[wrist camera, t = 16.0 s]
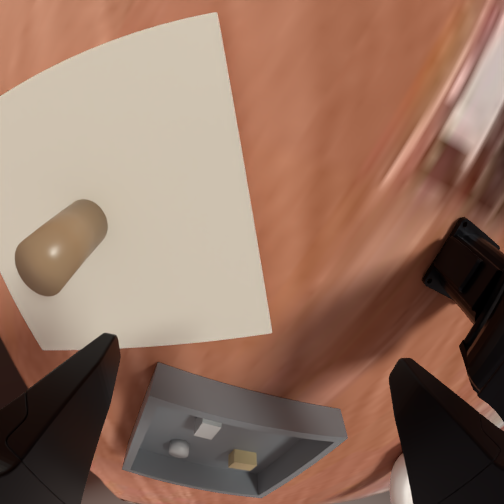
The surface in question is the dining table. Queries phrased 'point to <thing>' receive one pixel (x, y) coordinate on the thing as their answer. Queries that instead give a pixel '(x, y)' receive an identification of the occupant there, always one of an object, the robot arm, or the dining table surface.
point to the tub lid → (130, 196)
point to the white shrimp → (400, 483)
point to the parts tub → (226, 435)
